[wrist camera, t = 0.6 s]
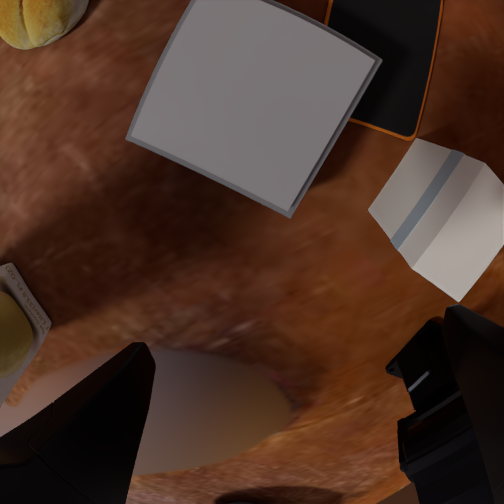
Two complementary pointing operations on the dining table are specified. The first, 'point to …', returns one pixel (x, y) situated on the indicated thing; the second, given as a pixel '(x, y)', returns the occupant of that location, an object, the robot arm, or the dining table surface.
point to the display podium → (252, 97)
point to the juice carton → (18, 328)
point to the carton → (443, 215)
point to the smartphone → (391, 57)
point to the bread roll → (38, 20)
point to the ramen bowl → (241, 503)
